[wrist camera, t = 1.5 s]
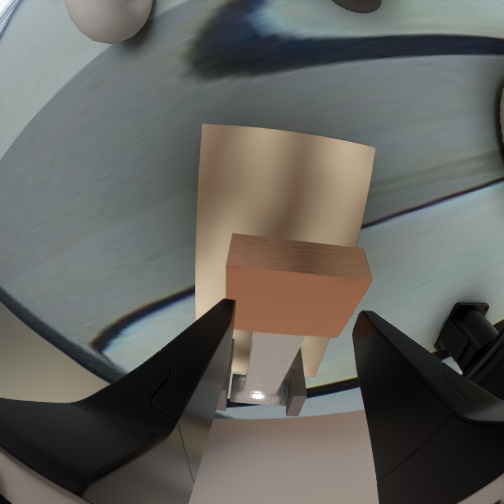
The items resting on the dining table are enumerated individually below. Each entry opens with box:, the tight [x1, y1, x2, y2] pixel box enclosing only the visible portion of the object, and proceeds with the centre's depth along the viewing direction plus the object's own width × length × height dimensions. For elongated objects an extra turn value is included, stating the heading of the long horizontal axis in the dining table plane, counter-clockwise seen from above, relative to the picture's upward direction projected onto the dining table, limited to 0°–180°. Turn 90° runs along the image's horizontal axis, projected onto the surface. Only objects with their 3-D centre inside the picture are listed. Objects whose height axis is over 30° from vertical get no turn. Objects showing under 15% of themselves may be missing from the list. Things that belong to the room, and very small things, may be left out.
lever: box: [226, 233, 372, 406], centre depth 15 cm, size 5×17×2 cm, turn 174°
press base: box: [195, 124, 375, 416], centre depth 19 cm, size 12×22×8 cm, turn 174°
